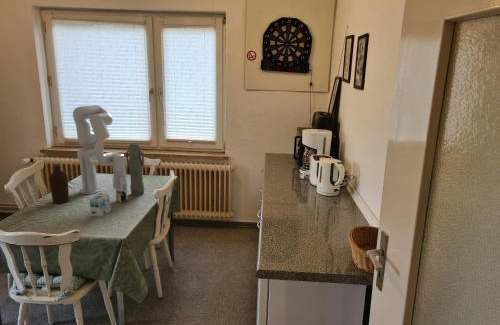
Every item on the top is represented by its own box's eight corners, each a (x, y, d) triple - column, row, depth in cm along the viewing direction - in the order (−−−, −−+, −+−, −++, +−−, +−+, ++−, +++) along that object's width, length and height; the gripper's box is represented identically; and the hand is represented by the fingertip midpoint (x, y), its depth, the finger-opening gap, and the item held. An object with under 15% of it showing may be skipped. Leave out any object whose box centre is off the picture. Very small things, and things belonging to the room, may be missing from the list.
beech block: (116, 200, 242) (115, 191, 241) (123, 198, 246) (122, 189, 244) (119, 202, 239) (119, 193, 237) (127, 200, 242) (126, 191, 241)
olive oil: (73, 198, 245) (68, 162, 239) (65, 204, 235) (61, 166, 229) (56, 198, 245) (52, 162, 239) (48, 204, 235) (43, 166, 228)
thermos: (144, 195, 253) (141, 145, 244) (127, 195, 252) (123, 145, 243) (147, 191, 261) (144, 142, 252) (131, 191, 261) (127, 142, 252)
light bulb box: (101, 217, 216) (99, 199, 214) (90, 216, 218) (88, 198, 215) (111, 210, 226) (109, 193, 224) (101, 209, 228) (99, 192, 225)
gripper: (107, 171, 240) (109, 197, 245) (120, 177, 229) (122, 204, 234) (118, 169, 246) (120, 195, 250) (131, 174, 234) (133, 201, 239)
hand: (121, 199), depth 242 cm, fingers closed on beech block, 5 cm apart
